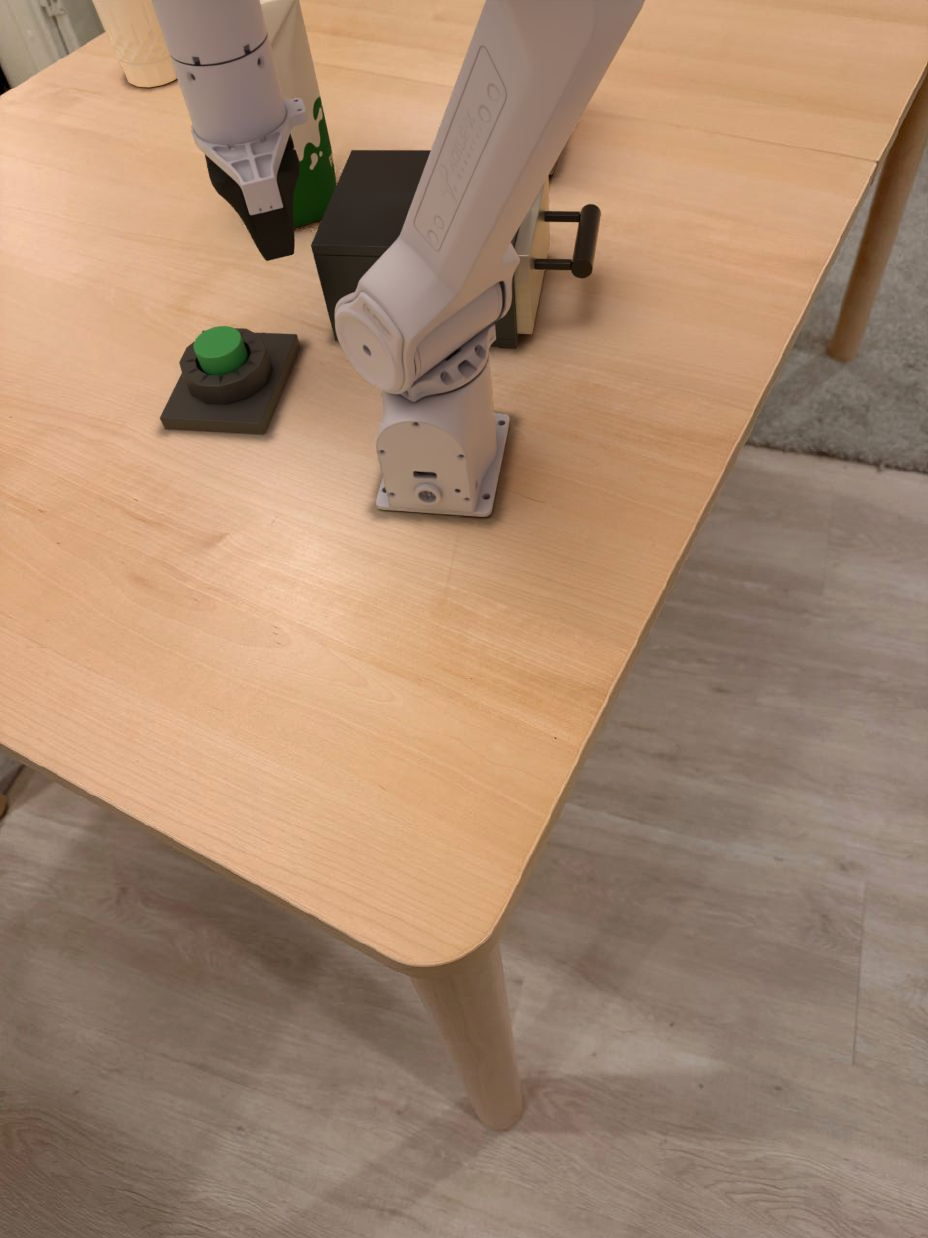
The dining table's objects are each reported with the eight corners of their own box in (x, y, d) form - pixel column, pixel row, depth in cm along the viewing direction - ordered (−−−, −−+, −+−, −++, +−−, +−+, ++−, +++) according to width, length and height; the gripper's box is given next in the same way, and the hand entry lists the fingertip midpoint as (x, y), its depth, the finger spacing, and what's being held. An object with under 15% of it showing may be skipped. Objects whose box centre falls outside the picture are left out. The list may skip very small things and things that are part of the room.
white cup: (109, 88, 102) (68, -14, 94) (142, 53, 106) (107, -48, 98) (172, 92, 100) (136, -12, 92) (204, 56, 104) (172, -46, 96)
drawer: (602, 245, 76) (604, 165, 71) (588, 336, 70) (590, 257, 65) (392, 241, 79) (379, 164, 74) (362, 328, 73) (345, 251, 68)
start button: (239, 377, 69) (232, 358, 67) (194, 375, 69) (186, 356, 68) (253, 344, 71) (247, 326, 69) (209, 343, 71) (202, 324, 70)
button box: (264, 435, 69) (253, 405, 66) (165, 429, 70) (150, 399, 68) (300, 345, 74) (291, 314, 72) (207, 342, 75) (194, 311, 73)
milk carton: (353, 216, 84) (300, -37, 67) (257, 245, 82) (178, -5, 66) (327, 169, 88) (271, -78, 72) (235, 196, 87) (158, -49, 71)
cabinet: (536, 249, 78) (533, 149, 71) (516, 348, 71) (510, 249, 64) (370, 245, 81) (351, 149, 74) (335, 341, 74) (310, 245, 67)
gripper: (309, 84, 49) (356, 300, 60) (267, -26, 57) (315, 183, 68) (178, 114, 48) (250, 327, 60) (154, -1, 56) (221, 205, 68)
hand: (278, 252), depth 64 cm, fingers closed
